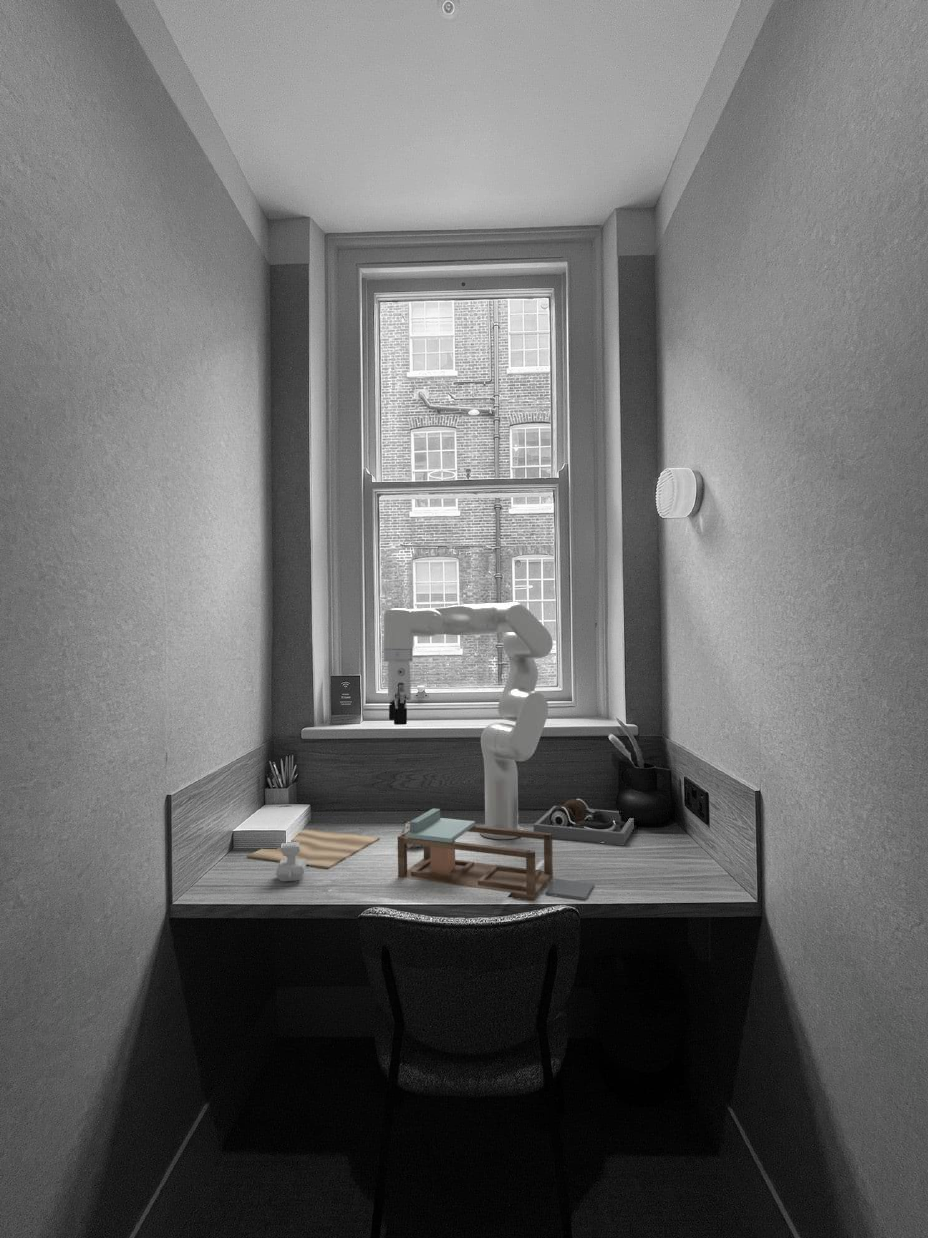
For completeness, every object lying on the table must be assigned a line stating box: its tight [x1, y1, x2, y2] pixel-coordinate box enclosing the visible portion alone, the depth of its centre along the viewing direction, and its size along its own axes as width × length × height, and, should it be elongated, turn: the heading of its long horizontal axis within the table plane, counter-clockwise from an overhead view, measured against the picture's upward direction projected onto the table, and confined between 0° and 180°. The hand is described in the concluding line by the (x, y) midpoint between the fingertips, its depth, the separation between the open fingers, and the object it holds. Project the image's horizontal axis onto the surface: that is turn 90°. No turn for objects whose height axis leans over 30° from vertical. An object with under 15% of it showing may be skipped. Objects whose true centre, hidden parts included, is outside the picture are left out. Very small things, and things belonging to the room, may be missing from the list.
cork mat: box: [246, 828, 381, 869], centre depth 196 cm, size 26×25×1 cm
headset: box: [550, 798, 626, 831], centre depth 210 cm, size 17×8×20 cm
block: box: [430, 840, 456, 874], centre depth 174 cm, size 4×4×7 cm
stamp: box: [275, 842, 307, 882], centre depth 173 cm, size 9×7×8 cm
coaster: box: [544, 878, 595, 901], centre depth 163 cm, size 9×9×1 cm
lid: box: [408, 808, 476, 843], centre depth 174 cm, size 15×11×4 cm
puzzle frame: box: [397, 824, 554, 902], centre depth 171 cm, size 16×33×10 cm, turn 68°
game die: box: [397, 819, 424, 849], centre depth 194 cm, size 9×8×10 cm
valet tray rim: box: [533, 805, 635, 846], centre depth 210 cm, size 22×25×3 cm
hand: (397, 722), depth 187 cm, fingers open, 9 cm apart
